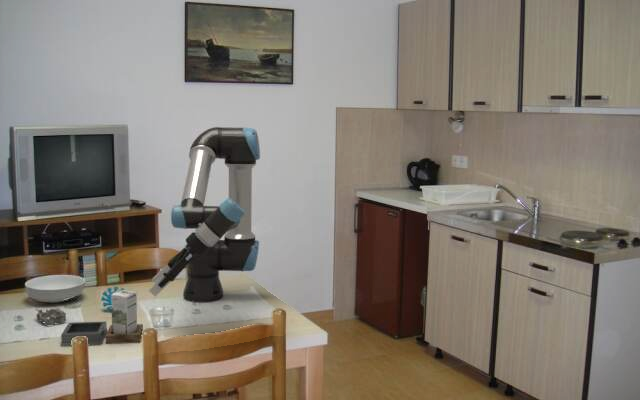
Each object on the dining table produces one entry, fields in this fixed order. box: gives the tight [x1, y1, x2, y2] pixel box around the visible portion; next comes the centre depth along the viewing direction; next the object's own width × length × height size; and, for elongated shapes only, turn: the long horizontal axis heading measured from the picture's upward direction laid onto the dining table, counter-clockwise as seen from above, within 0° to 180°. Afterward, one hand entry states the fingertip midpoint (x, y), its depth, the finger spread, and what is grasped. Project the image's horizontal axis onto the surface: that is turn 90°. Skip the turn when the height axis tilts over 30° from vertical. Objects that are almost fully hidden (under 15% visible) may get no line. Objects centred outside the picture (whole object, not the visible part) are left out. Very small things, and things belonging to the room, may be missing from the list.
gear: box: [101, 285, 125, 312], centre depth 236 cm, size 11×6×10 cm
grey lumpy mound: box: [35, 307, 67, 326], centre depth 221 cm, size 11×8×4 cm
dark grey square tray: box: [60, 320, 108, 347], centre depth 205 cm, size 12×12×4 cm
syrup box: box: [110, 289, 138, 334], centre depth 206 cm, size 6×6×14 cm
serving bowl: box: [24, 274, 86, 304], centre depth 245 cm, size 21×21×7 cm
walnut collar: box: [105, 323, 144, 344], centre depth 207 cm, size 10×10×2 cm
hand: (153, 287), depth 206 cm, fingers open, 13 cm apart
